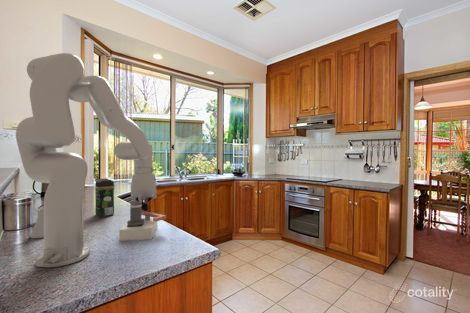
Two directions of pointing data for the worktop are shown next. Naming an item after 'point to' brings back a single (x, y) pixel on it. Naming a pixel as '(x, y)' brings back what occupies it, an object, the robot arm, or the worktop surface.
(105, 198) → the coffee jar
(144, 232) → the socket block
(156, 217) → the clip
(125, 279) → the worktop surface
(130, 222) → the plug
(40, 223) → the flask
